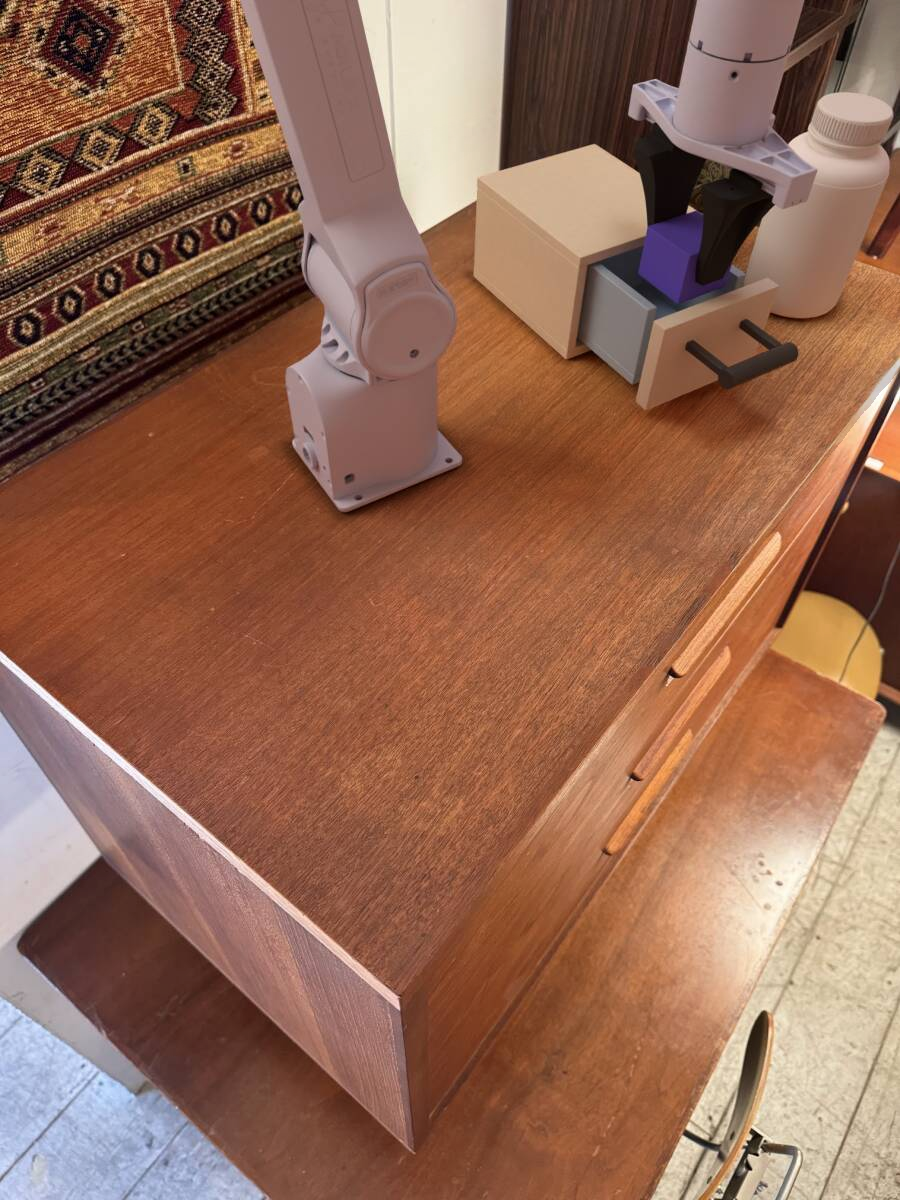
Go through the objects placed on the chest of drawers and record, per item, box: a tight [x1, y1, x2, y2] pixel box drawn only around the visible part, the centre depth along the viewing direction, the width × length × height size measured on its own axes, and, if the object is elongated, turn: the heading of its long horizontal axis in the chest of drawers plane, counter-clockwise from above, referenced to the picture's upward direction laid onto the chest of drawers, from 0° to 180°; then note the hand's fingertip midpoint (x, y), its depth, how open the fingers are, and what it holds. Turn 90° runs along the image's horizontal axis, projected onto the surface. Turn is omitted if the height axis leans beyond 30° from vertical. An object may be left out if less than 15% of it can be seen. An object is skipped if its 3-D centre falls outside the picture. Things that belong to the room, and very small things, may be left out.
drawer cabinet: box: [473, 143, 696, 361], centre depth 70 cm, size 14×12×9 cm
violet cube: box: [638, 211, 734, 304], centre depth 60 cm, size 4×4×4 cm
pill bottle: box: [743, 91, 894, 319], centre depth 68 cm, size 8×8×15 cm
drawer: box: [577, 246, 799, 411], centre depth 63 cm, size 17×10×7 cm, turn 31°
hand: (685, 262), depth 60 cm, fingers closed on violet cube, 4 cm apart
